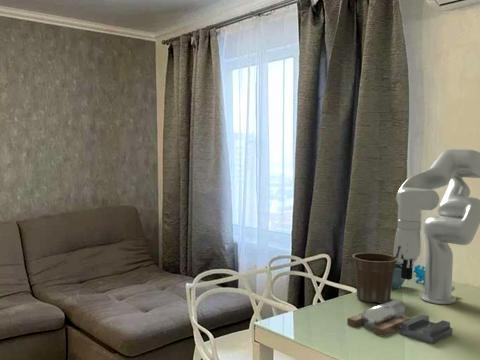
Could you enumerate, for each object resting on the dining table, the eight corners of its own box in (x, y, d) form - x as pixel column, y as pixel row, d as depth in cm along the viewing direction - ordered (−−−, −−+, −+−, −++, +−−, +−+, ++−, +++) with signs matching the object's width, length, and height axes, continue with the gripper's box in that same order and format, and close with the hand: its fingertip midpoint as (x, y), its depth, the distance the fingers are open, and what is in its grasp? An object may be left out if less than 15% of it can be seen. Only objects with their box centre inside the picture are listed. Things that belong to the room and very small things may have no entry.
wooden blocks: (375, 313, 172) (376, 307, 172) (410, 324, 163) (410, 318, 162) (347, 324, 162) (347, 318, 162) (382, 335, 152) (382, 329, 152)
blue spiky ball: (423, 284, 204) (411, 263, 210) (413, 292, 207) (402, 271, 213) (441, 284, 209) (429, 264, 215) (431, 292, 213) (420, 271, 219)
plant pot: (366, 290, 201) (367, 250, 200) (403, 299, 189) (405, 257, 188) (343, 298, 190) (344, 256, 188) (381, 308, 178) (383, 263, 177)
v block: (419, 324, 162) (419, 313, 162) (452, 334, 154) (452, 323, 154) (398, 333, 155) (399, 322, 154) (432, 344, 146) (432, 332, 146)
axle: (388, 315, 171) (389, 298, 171) (404, 320, 167) (405, 302, 166) (360, 326, 161) (361, 307, 161) (377, 331, 156) (377, 312, 156)
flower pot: (401, 291, 199) (402, 269, 199) (379, 287, 204) (380, 266, 204) (407, 286, 207) (407, 264, 206) (385, 282, 212) (386, 262, 211)
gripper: (410, 222, 179) (408, 273, 179) (387, 225, 169) (384, 279, 170) (430, 225, 173) (427, 277, 174) (407, 228, 163) (404, 284, 164)
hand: (406, 278), depth 172 cm, fingers closed
